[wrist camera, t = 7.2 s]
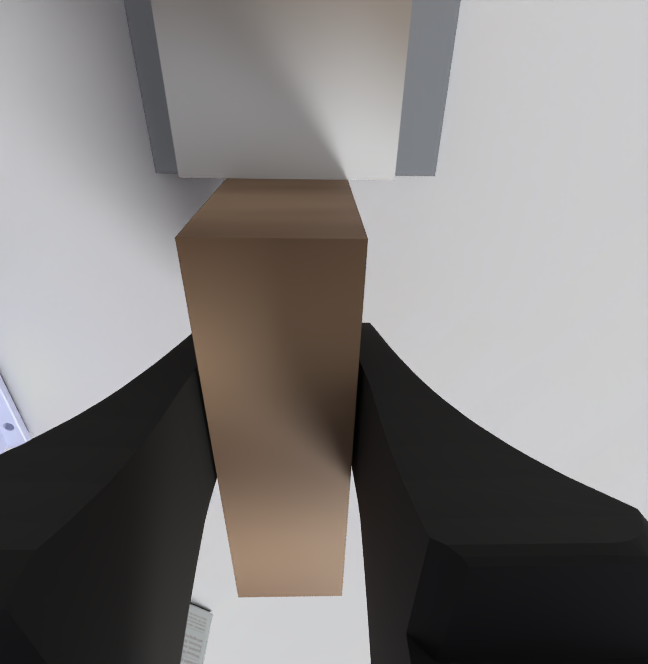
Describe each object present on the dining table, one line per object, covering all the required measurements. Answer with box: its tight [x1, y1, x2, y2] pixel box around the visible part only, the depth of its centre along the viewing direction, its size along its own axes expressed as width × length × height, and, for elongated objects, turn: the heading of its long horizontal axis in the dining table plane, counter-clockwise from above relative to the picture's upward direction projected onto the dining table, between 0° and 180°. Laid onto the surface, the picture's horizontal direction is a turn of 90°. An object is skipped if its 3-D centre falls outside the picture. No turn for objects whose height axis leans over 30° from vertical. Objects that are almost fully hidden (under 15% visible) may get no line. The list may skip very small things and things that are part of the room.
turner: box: [151, 0, 412, 597], centre depth 9 cm, size 17×5×5 cm, turn 179°
